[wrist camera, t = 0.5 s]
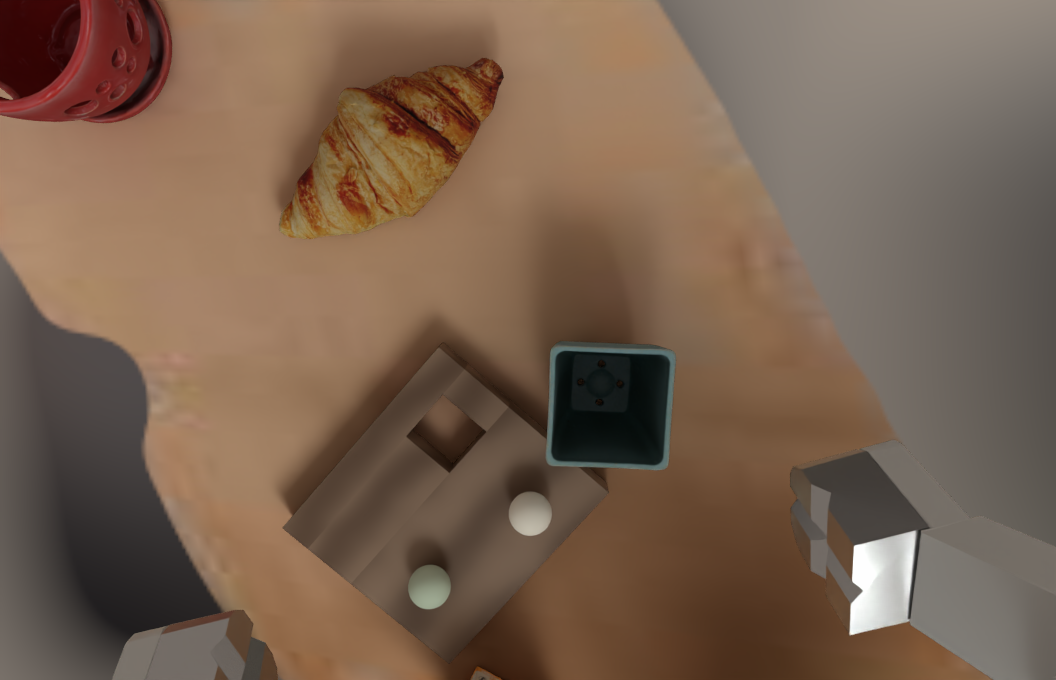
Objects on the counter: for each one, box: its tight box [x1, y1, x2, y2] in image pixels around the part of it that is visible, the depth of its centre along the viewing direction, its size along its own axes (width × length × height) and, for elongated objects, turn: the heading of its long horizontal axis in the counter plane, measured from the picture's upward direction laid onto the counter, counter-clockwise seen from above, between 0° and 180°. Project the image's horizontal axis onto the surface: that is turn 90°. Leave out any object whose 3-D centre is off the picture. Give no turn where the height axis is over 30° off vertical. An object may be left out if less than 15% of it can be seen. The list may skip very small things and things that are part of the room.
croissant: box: [279, 58, 504, 239], centre depth 56 cm, size 21×10×8 cm, turn 127°
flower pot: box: [546, 341, 676, 470], centre depth 57 cm, size 9×9×9 cm
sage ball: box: [408, 565, 451, 609], centre depth 59 cm, size 3×3×3 cm
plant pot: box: [0, 0, 172, 123], centre depth 52 cm, size 13×13×12 cm
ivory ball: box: [509, 492, 552, 536], centre depth 58 cm, size 3×3×3 cm
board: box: [283, 343, 609, 664], centre depth 61 cm, size 18×20×2 cm
